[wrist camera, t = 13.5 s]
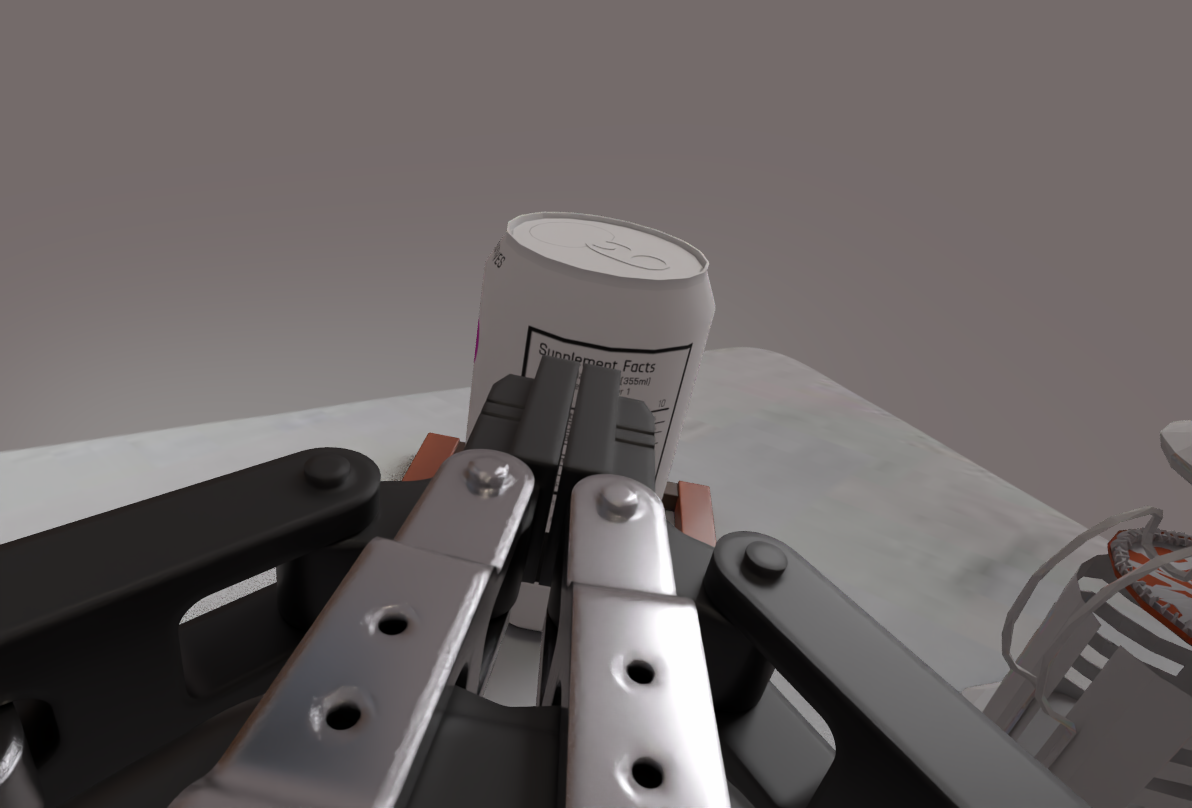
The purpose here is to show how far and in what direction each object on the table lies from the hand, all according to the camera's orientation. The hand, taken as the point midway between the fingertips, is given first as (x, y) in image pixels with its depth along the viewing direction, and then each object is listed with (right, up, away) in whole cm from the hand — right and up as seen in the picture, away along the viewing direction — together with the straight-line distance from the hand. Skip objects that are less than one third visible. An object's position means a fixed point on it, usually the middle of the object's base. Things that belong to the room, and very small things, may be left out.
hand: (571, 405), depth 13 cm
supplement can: (-2, -8, +18) cm, 19 cm away
